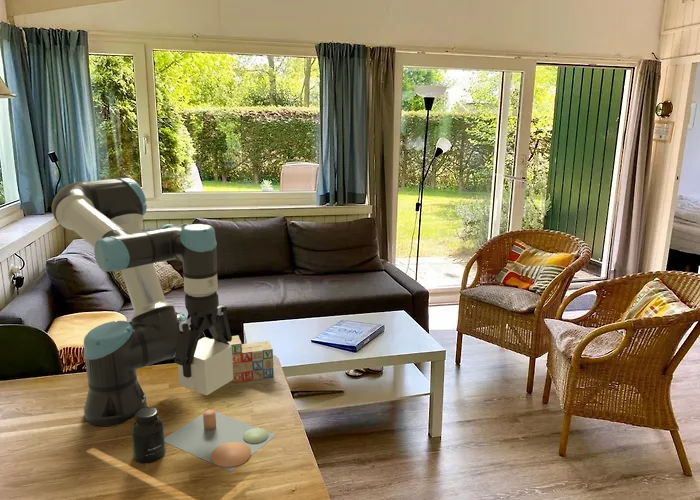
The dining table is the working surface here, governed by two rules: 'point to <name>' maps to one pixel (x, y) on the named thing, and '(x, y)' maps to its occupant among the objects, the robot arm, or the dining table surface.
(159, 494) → the dining table surface
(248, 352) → the stack of blocks
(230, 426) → the board
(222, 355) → the plain off-white box
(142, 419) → the supplement bottle
